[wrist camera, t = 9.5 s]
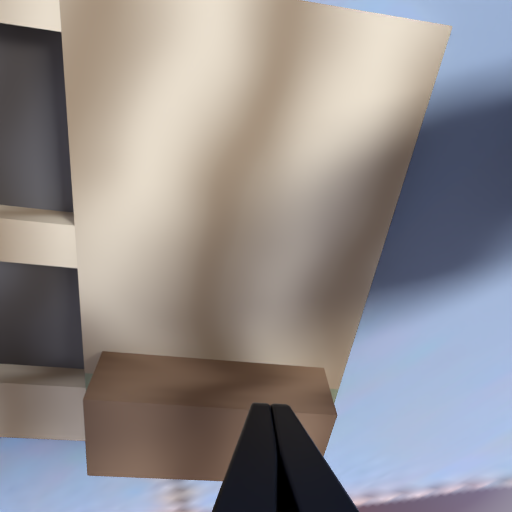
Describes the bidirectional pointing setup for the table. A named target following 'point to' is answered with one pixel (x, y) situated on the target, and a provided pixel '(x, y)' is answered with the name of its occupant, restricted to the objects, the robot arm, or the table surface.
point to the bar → (189, 412)
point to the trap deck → (194, 184)
